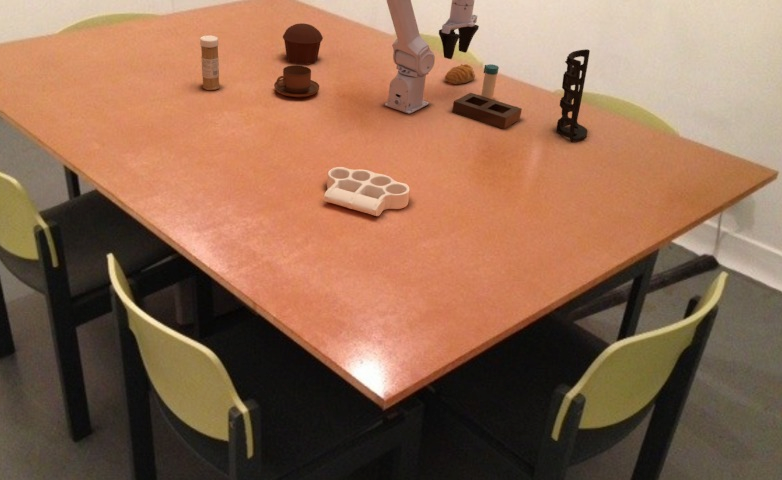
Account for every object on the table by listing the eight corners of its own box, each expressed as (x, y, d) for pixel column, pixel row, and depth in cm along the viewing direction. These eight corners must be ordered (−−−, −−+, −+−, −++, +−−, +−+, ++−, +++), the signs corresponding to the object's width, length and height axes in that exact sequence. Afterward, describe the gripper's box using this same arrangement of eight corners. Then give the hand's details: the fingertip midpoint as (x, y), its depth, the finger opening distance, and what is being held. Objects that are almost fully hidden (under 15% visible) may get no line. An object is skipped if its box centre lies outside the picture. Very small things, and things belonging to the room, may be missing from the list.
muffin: (276, 62, 224) (277, 27, 219) (289, 50, 233) (290, 17, 228) (315, 68, 222) (316, 33, 216) (327, 56, 231) (328, 23, 225)
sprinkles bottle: (213, 83, 208) (212, 33, 200) (223, 88, 205) (221, 38, 198) (199, 86, 206) (196, 36, 198) (208, 92, 203) (206, 41, 195)
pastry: (458, 87, 215) (459, 74, 213) (438, 81, 219) (439, 68, 217) (476, 79, 221) (478, 66, 219) (456, 73, 225) (458, 60, 223)
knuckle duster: (309, 201, 157) (340, 173, 168) (390, 224, 151) (417, 194, 163) (309, 187, 156) (341, 159, 167) (392, 210, 150) (418, 180, 161)
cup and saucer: (299, 104, 199) (300, 81, 195) (264, 92, 205) (264, 69, 201) (328, 92, 207) (329, 70, 204) (293, 81, 213) (294, 59, 209)
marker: (488, 103, 207) (494, 69, 202) (476, 99, 209) (481, 66, 204) (495, 99, 209) (501, 66, 204) (482, 95, 211) (488, 63, 206)
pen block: (503, 129, 193) (506, 118, 191) (452, 112, 201) (453, 101, 199) (519, 119, 199) (522, 108, 197) (468, 103, 206) (470, 92, 205)
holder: (588, 143, 188) (600, 62, 177) (556, 142, 189) (566, 61, 179) (585, 126, 197) (596, 48, 186) (555, 125, 198) (564, 47, 188)
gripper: (461, 11, 192) (454, 65, 200) (490, 1, 201) (481, 52, 209) (437, 5, 195) (431, 58, 203) (466, -5, 205) (459, 46, 213)
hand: (455, 54), depth 206 cm, fingers open, 7 cm apart
